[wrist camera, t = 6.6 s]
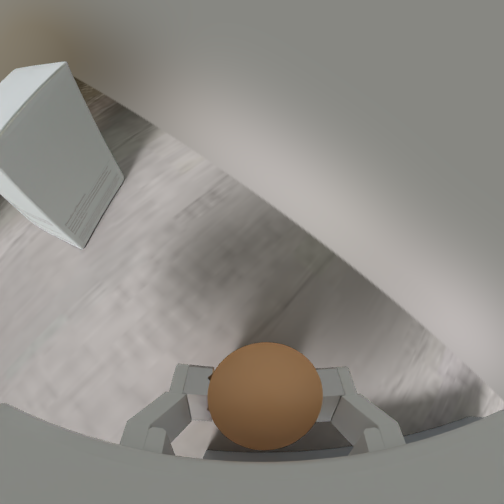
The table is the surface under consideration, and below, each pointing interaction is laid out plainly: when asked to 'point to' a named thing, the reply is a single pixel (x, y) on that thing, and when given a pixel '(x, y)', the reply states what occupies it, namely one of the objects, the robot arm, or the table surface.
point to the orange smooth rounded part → (265, 396)
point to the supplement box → (54, 153)
